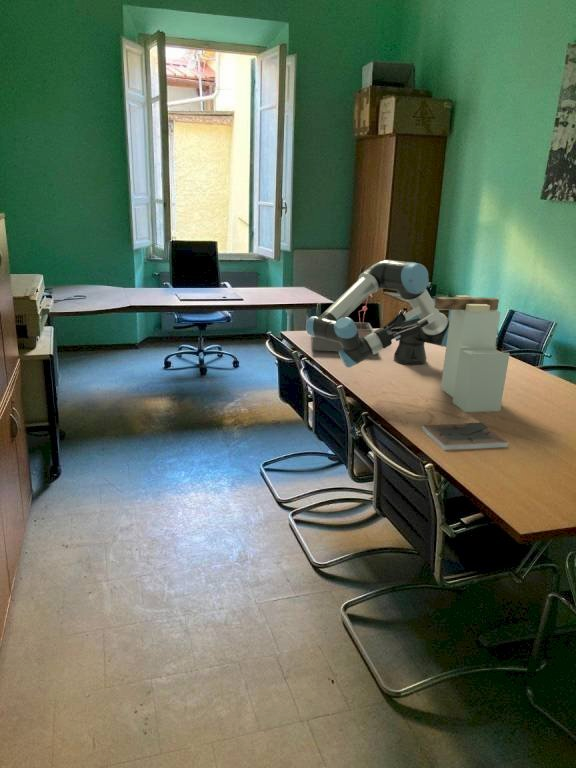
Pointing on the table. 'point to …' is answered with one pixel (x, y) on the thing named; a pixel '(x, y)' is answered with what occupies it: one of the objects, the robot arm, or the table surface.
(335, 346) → the organizer tray
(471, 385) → the pale grey rectangular block
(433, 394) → the table surface
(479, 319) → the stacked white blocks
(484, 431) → the picture frame
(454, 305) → the walnut batten
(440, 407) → the table surface
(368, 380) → the table surface
